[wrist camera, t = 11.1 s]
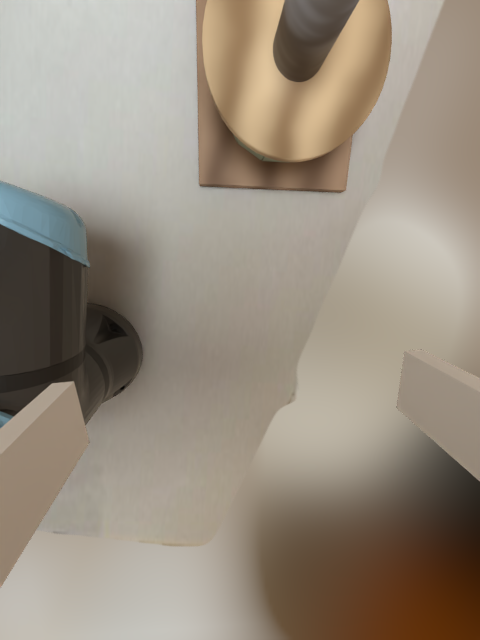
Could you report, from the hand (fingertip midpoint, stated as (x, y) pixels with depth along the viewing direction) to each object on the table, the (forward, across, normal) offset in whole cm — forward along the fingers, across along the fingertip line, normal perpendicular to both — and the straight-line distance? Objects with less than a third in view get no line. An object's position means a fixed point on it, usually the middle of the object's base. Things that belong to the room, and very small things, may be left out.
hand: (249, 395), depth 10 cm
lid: (+22, -8, -23) cm, 33 cm away
